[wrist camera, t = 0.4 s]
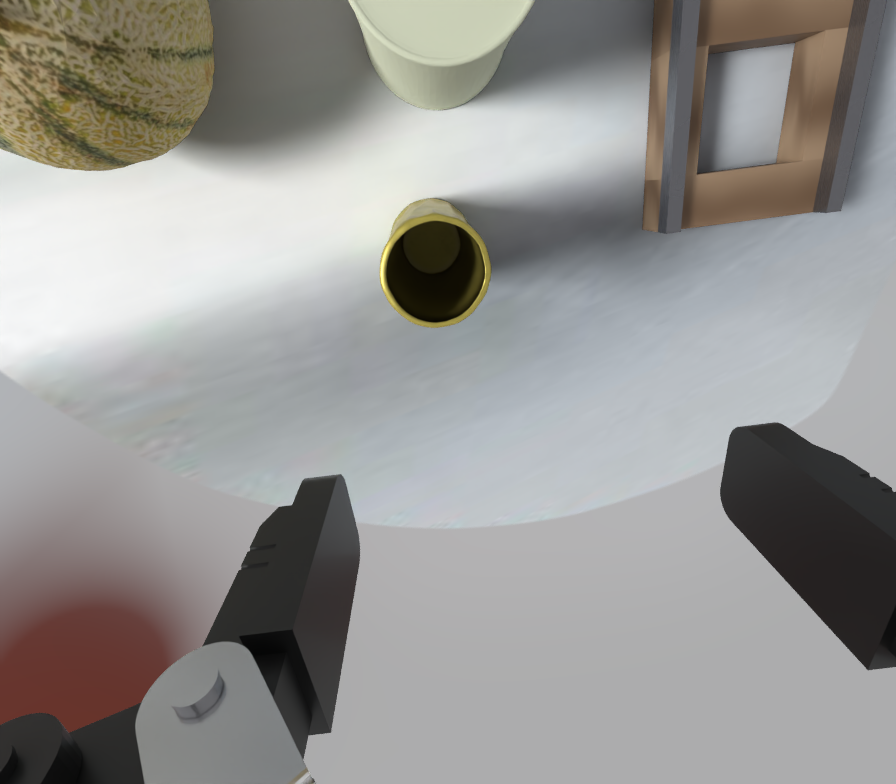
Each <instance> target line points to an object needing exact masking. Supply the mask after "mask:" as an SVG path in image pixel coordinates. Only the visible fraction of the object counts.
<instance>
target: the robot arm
mask: <svg viewBox="0 0 896 784" xmlns="http://www.w3.org/2000/svg"><path fill="white" fill-rule="evenodd" d="M720 496H721V501H722V505H723V508H724V510H725V512H726V514H727V516H728V517H729V519H730V520H731V521H732V522H733V523H734V525H735V526H736V527H737V528H738V529H739V530H740V531H741V532H742V533H743V534H744V535H745V537H746V538H747V539H748V540H749V541H750V542H751V543H752V544H753V545H754V546H755V547H756V548H757V550H758V551H759V552H760V553H761V554H762V555H763V556H764V557H765V558H766V560H767V561H768V562H769V563H770V564H771V565H772V566H773V567H774V568H775V569H776V570H777V571H778V572H779V574H780V575H781V576H782V577H783V578H784V579H785V580H786V581H787V582H788V583H789V584H790V586H791V587H792V588H793V589H794V590H795V591H796V592H797V593H798V594H799V595H800V596H801V598H802V599H803V600H804V601H805V602H806V603H807V604H808V605H809V606H810V607H811V608H812V610H813V611H814V612H815V613H816V614H817V615H818V616H819V617H820V618H821V619H822V621H823V622H824V623H825V624H826V625H827V626H828V627H829V628H830V629H831V630H832V631H833V633H834V634H835V635H836V636H837V637H838V638H839V639H840V640H841V641H842V642H843V643H844V644H845V646H846V647H847V648H848V649H849V650H850V651H851V652H852V653H853V654H854V655H855V657H856V658H857V659H858V660H859V661H860V662H861V663H862V664H863V665H864V666H865V667H866V669H867V670H873V669H881V668H890V667H896V492H893V491H892V488H891V487H889V486H888V485H887V484H885V483H883V482H882V481H880V480H879V479H877V478H876V477H870V475H869V473H868V472H866V471H865V470H863V469H862V468H860V467H858V466H857V465H856V464H854V463H852V462H851V461H849V460H848V459H846V458H845V457H843V456H841V455H838V454H836V453H833V452H831V451H828V450H826V449H823V448H821V447H818V446H816V445H813V444H811V443H810V442H808V441H807V440H806V439H804V438H802V437H801V436H799V435H798V434H796V433H795V432H794V431H792V430H791V429H789V428H787V427H786V426H784V425H783V424H780V423H767V424H759V425H751V426H743V427H737V428H735V429H734V430H733V431H732V432H731V434H730V437H729V442H728V448H727V454H726V459H725V465H724V471H723V477H722V482H721V489H720ZM359 561H360V544H359V535H358V530H357V527H356V522H355V518H354V514H353V510H352V506H351V502H350V498H349V494H348V490H347V486H346V483H345V480H344V478H343V476H342V475H341V474H339V475H331V476H323V477H315V478H306V479H304V480H303V481H302V483H301V485H300V487H299V490H298V492H297V495H296V497H295V500H294V502H293V505H291V506H282V507H278V508H277V509H276V510H275V512H273V513H272V515H271V516H270V517H269V518H268V519H267V520H266V521H265V522H264V523H263V524H262V525H261V526H260V527H259V529H258V532H257V534H256V536H255V538H254V540H253V542H252V544H251V546H250V551H249V552H247V554H246V557H245V559H244V561H243V563H242V565H241V567H242V568H241V570H239V571H238V573H237V575H236V577H235V580H234V582H233V584H232V586H231V588H230V590H229V592H228V594H227V596H226V598H225V601H224V603H223V605H222V607H221V609H220V611H219V613H218V615H217V617H216V619H215V622H214V624H213V626H212V628H211V630H210V632H209V634H208V636H207V638H206V640H205V642H204V644H203V646H202V647H201V648H198V649H196V650H194V651H192V652H190V653H189V654H187V655H185V656H184V657H182V658H181V659H179V660H178V661H176V662H175V663H174V664H173V665H172V666H170V667H169V668H168V669H167V670H166V671H165V672H164V673H163V674H162V675H161V676H160V677H159V678H158V679H157V680H156V682H155V683H154V684H153V685H152V686H151V688H150V689H149V691H148V693H147V694H146V696H145V697H144V699H143V701H142V702H141V703H139V704H137V705H135V706H133V707H130V708H128V709H125V710H123V711H121V712H118V713H116V714H114V715H111V716H109V717H106V718H104V719H102V720H99V721H97V722H94V723H92V724H89V725H87V726H85V727H82V728H80V729H77V730H75V731H72V732H70V733H68V731H67V730H66V729H65V728H64V726H63V725H62V724H61V722H59V720H58V719H57V718H56V717H55V716H53V715H50V714H46V713H35V714H29V715H25V716H21V717H18V718H15V719H13V720H10V721H8V722H6V723H4V724H2V725H0V784H316V783H315V781H314V779H313V778H312V777H311V775H310V773H309V771H308V769H307V767H306V765H305V763H304V761H303V758H304V754H305V749H306V744H307V739H308V735H315V734H323V733H331V728H332V722H333V715H334V710H335V705H336V699H337V693H338V687H339V681H340V675H341V669H342V663H343V657H344V651H345V644H346V639H347V633H348V627H349V621H350V615H351V609H352V603H353V598H354V592H355V585H356V580H357V574H358V568H359Z"/></svg>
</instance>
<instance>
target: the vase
mask: <svg viewBox="0 0 896 784" xmlns="http://www.w3.org/2000/svg"><path fill="white" fill-rule="evenodd" d="M490 277H491V263H490V259H489V255H488V251H487V248H486V246H485V243H484V241H483V240H482V238H481V237H480V235H479V234H478V233H477V232H476V231H475V230H474V229H473V228H472V227H471V226H470V225H469V224H468V222H467V220H466V219H465V217H464V216H463V214H462V213H461V212H460V211H458V210H457V209H456V208H455V207H454V206H453V205H451V204H450V203H448V202H446V201H442V200H438V199H433V198H430V199H423V200H419V201H416V202H413V203H411V204H409V205H408V206H407V207H406V208H405V209H404V210H403V211H402V212H401V213H400V214H399V215H398V217H397V218H396V219H395V222H394V224H393V227H392V231H391V235H390V237H389V241H388V242H387V244H386V246H385V248H384V250H383V252H382V256H381V262H380V283H381V286H382V289H383V291H384V293H385V296H386V298H387V300H388V301H389V303H390V304H391V306H392V307H393V308H394V309H395V310H396V311H397V312H398V313H399V314H400V315H402V316H403V317H404V318H406V319H407V320H408V321H410V322H412V323H414V324H417V325H420V326H424V327H430V328H438V327H445V326H450V325H454V324H456V323H459V322H461V321H462V320H464V319H465V318H467V317H468V316H469V315H470V314H472V313H473V312H474V310H475V309H476V308H477V306H478V305H479V304H480V302H481V301H482V299H483V298H484V297H485V294H486V292H487V289H488V286H489V282H490Z"/></svg>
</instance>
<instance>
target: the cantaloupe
mask: <svg viewBox="0 0 896 784" xmlns="http://www.w3.org/2000/svg"><path fill="white" fill-rule="evenodd" d="M213 30H214V27H213V25H212V22H211V15H210V8H209V2H208V0H0V149H3V150H5V151H8V152H11V153H14V154H16V155H19V156H22V157H25V158H28V159H30V160H33V161H36V162H39V163H42V164H46V165H51V166H54V167H58V168H65V169H74V170H85V171H104V170H112V169H117V168H123V167H126V166H128V165H131V164H135V163H138V162H142V161H147V160H152V159H154V158H156V157H158V156H160V155H163V154H165V153H167V152H168V151H169V150H170V149H173V148H174V147H175V146H176V145H177V144H179V143H180V142H181V141H182V140H183V139H184V138H185V137H186V136H187V135H189V133H190V131H191V130H192V128H193V126H194V124H195V123H196V122H197V120H198V119H199V117H200V116H201V114H202V112H203V111H204V109H205V108H206V106H207V104H208V101H209V98H210V92H211V90H212V86H213V78H212V77H213V74H214V71H215V68H214V66H215V65H214V53H213V47H212V44H213Z"/></svg>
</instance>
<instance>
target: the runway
mask: <svg viewBox="0 0 896 784" xmlns="http://www.w3.org/2000/svg"><path fill="white" fill-rule="evenodd" d="M886 2H887V0H654V18H653V37H652V56H651V75H650V94H649V113H648V132H647V151H646V170H645V189H644V208H643V227H642V230H648V231H654V232H660V233H666V234H667V233H674V232H681V229H686V228H694V227H702V226H709V225H717V224H725V223H732V222H740V221H748V220H756V219H763V218H771V217H779V216H787V215H794V214H802V213H810V212H820V213H829V212H836V211H841V209H842V204H843V199H844V195H845V190H846V186H847V181H848V176H849V172H850V167H851V163H852V158H853V153H854V149H855V144H856V140H857V135H858V130H859V126H860V121H861V117H862V112H863V107H864V103H865V98H866V94H867V89H868V84H869V80H870V75H871V71H872V66H873V61H874V57H875V52H876V48H877V43H878V38H879V34H880V29H881V25H882V20H883V15H884V11H885V6H886ZM788 43H795V47H794V53H793V60H792V66H791V73H790V79H789V85H788V92H787V98H786V104H785V111H784V117H783V123H782V130H781V136H780V143H779V149H778V155H777V162H776V163H775V164H767V165H759V166H752V167H744V168H736V169H729V170H721V171H713V172H706V173H698V174H697V165H698V155H699V144H700V133H701V123H702V112H703V102H704V91H705V80H706V70H707V59H708V54H712V53H720V52H727V51H735V50H743V49H750V48H758V47H765V46H773V45H781V44H788Z"/></svg>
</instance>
